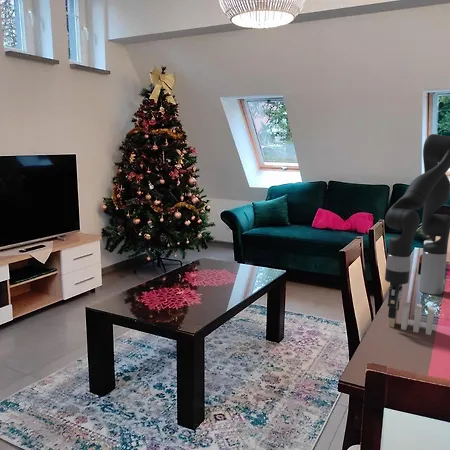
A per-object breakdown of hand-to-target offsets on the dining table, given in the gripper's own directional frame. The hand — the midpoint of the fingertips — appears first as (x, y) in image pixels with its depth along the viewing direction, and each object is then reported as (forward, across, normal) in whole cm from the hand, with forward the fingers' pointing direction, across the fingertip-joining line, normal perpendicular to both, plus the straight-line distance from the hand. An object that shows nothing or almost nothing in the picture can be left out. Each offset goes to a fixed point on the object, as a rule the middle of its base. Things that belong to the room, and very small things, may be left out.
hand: (393, 313), depth 154 cm
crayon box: (+4, +108, -4) cm, 108 cm away
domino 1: (+4, 0, 0) cm, 4 cm away
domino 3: (+4, 0, -8) cm, 9 cm away
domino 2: (+4, 0, -4) cm, 5 cm away
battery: (+4, +78, -4) cm, 78 cm away
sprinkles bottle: (+4, +93, -4) cm, 93 cm away
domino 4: (+4, 0, -11) cm, 12 cm away
